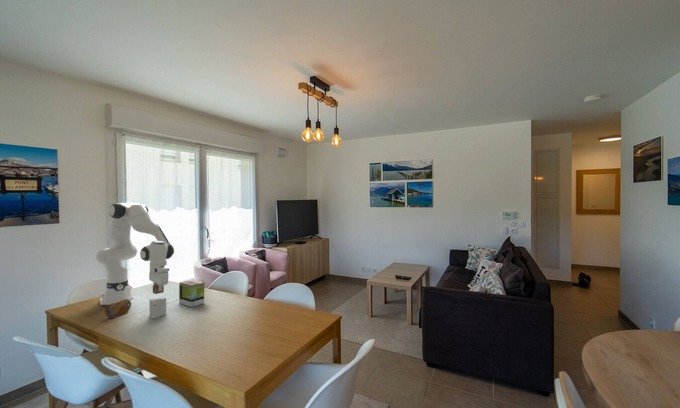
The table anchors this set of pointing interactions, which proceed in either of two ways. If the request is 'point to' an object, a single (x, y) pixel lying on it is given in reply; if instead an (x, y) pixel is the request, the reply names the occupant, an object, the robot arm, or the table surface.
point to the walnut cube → (155, 289)
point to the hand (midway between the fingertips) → (158, 289)
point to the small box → (157, 307)
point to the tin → (117, 308)
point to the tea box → (191, 293)
